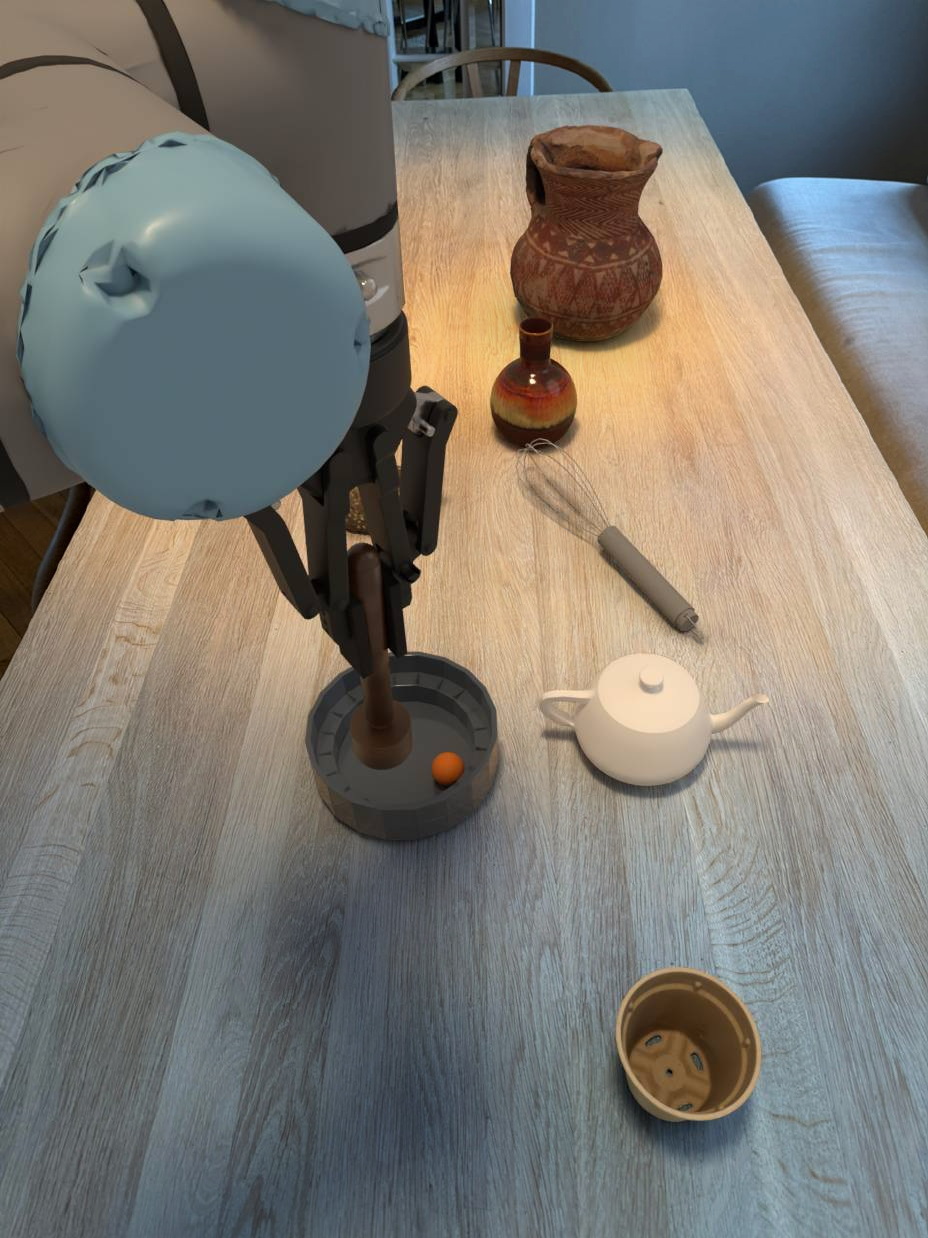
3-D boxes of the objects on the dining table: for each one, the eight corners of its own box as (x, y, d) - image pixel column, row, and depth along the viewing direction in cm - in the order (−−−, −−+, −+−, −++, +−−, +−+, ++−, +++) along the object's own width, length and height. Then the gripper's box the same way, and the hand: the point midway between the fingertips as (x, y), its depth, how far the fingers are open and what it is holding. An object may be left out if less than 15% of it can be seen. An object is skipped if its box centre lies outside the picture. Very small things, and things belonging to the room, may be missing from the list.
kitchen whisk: (678, 657, 90) (688, 615, 85) (504, 479, 110) (504, 438, 105) (724, 633, 92) (736, 591, 87) (545, 463, 112) (547, 422, 107)
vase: (587, 419, 118) (596, 312, 106) (554, 467, 111) (560, 358, 100) (512, 399, 121) (513, 294, 110) (476, 444, 115) (473, 337, 103)
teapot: (743, 695, 87) (766, 627, 79) (759, 806, 79) (787, 742, 71) (539, 684, 88) (543, 616, 81) (535, 792, 80) (538, 728, 73)
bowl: (380, 881, 75) (373, 848, 70) (283, 748, 84) (271, 711, 80) (534, 775, 81) (536, 738, 77) (428, 662, 91) (424, 624, 86)
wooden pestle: (381, 781, 64) (357, 588, 48) (341, 745, 66) (305, 547, 50) (424, 744, 66) (416, 547, 50) (384, 709, 68) (364, 509, 52)
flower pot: (761, 1076, 64) (791, 1039, 58) (683, 1182, 60) (705, 1156, 53) (657, 982, 69) (673, 938, 62) (577, 1075, 64) (586, 1039, 58)
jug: (671, 300, 138) (697, 127, 119) (631, 370, 125) (654, 189, 107) (538, 276, 144) (544, 108, 126) (488, 340, 132) (486, 164, 113)
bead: (427, 784, 80) (425, 774, 78) (438, 754, 82) (436, 743, 79) (458, 794, 80) (457, 784, 77) (468, 763, 81) (468, 753, 78)
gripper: (209, 416, 34) (303, 752, 52) (506, 294, 40) (500, 632, 58) (131, 338, 38) (242, 674, 56) (411, 238, 44) (433, 570, 62)
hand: (373, 652), depth 57 cm, fingers closed on wooden pestle, 2 cm apart
